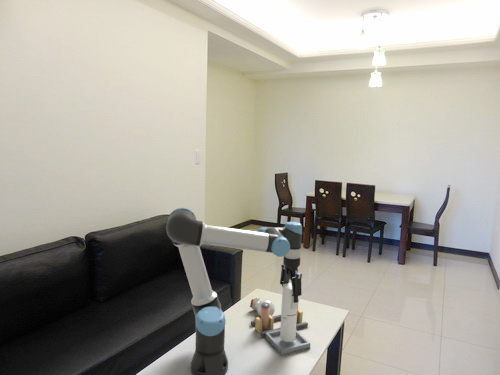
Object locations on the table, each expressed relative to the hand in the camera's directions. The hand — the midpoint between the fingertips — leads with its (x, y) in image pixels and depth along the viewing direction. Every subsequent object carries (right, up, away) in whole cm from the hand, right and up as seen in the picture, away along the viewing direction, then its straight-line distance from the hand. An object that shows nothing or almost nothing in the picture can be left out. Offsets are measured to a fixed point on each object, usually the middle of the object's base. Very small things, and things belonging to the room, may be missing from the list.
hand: (289, 304), depth 158 cm
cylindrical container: (-1, -16, +2) cm, 16 cm away
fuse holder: (-3, -17, +17) cm, 24 cm away
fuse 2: (+4, -16, +21) cm, 27 cm away
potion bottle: (-12, -15, +28) cm, 34 cm away
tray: (-1, -19, +2) cm, 19 cm away
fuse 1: (-11, -17, +13) cm, 24 cm away
